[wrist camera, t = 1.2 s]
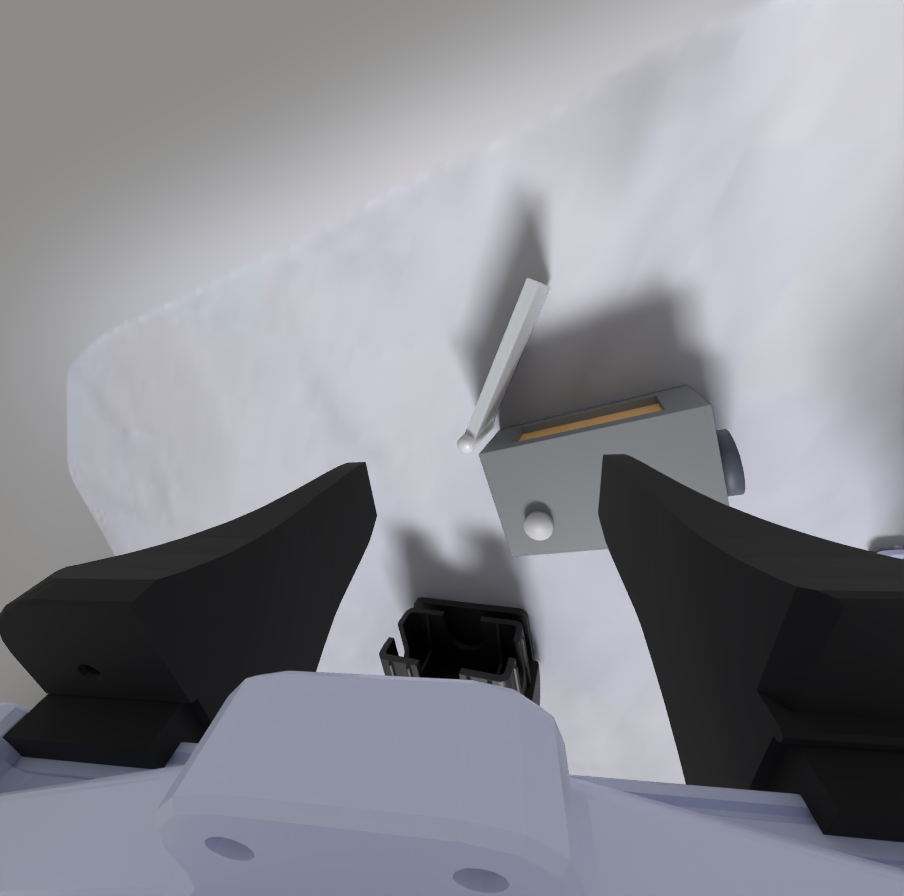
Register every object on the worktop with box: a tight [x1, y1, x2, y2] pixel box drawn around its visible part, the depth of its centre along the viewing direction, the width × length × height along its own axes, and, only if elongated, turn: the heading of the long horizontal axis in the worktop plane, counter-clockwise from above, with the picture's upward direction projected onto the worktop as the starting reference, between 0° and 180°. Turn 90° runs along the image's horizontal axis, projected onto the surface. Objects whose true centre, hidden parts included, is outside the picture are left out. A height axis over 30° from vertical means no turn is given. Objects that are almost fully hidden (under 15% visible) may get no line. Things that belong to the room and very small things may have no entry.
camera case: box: [479, 385, 745, 557], centre depth 19 cm, size 11×6×5 cm, turn 110°
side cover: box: [457, 278, 550, 453], centre depth 19 cm, size 9×1×4 cm, turn 160°
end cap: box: [379, 598, 540, 706], centre depth 26 cm, size 10×7×7 cm
